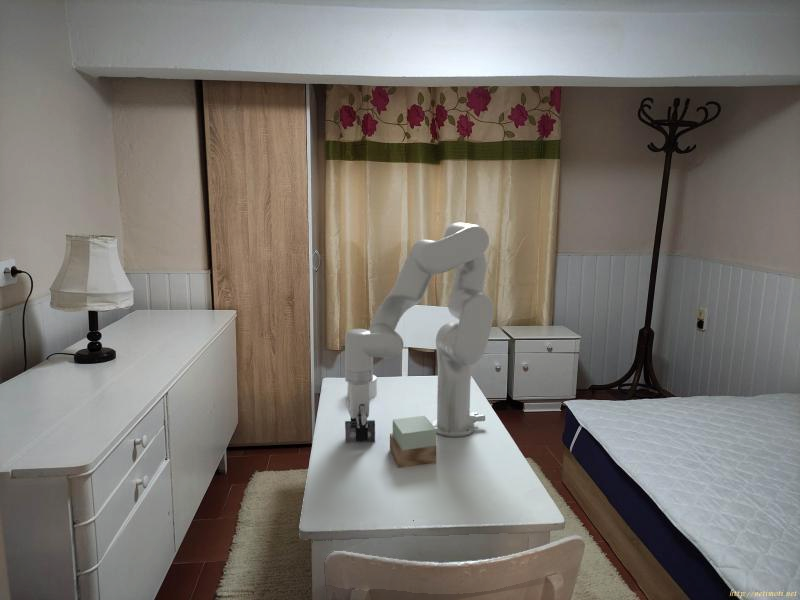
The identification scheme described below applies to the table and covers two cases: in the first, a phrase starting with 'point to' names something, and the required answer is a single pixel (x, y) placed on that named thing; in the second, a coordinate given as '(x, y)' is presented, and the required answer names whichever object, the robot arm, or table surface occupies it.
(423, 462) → the tower base block
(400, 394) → the table surface
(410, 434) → the tower top block
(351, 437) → the mini dv tape
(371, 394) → the base with upright slab
